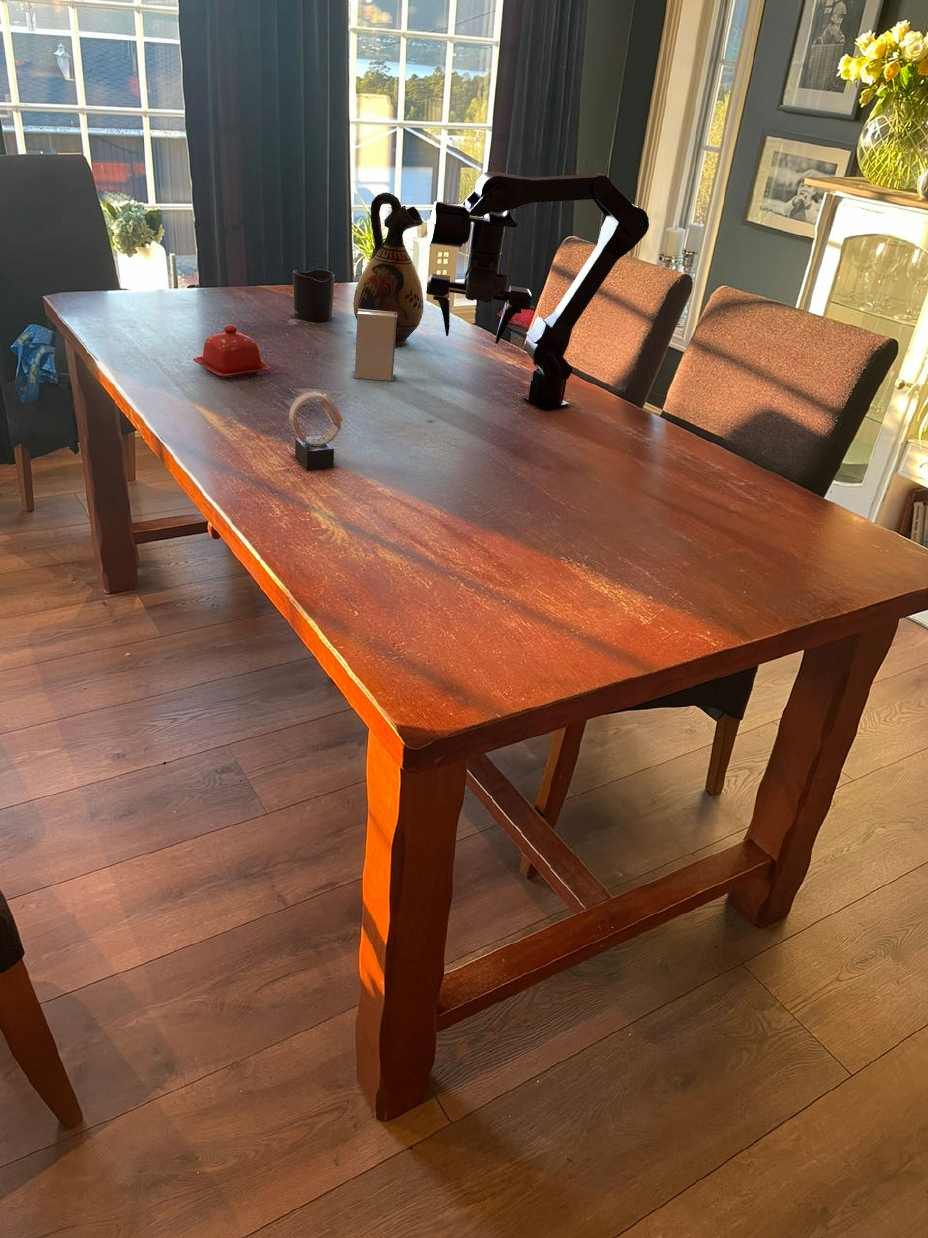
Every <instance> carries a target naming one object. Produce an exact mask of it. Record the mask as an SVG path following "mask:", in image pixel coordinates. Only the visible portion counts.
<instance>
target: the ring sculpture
mask: <svg viewBox="0 0 928 1238" xmlns="http://www.w3.org/2000/svg"><path fill="white" fill-rule="evenodd" d="M317 399H318V403H319V406H320V407H321V410H322V412H323V413H324V414H325V416H326V417H327V419H328V420H329V421H330V423H331V427H330V428H329V430H328V432H326V433H325V434H324V435H316V436H306V435H305V434H304V433H303V431H302V430H301V428H300V426H299V423H298V418H297V416H296V415H297V413H298V411H299V409H300V408H301V407H302V405H304V404H305V403H307V402H308V401H311V400H317ZM343 420H344V419H343V417H342V414H341V413H340V410H339V409H338V407H337V406H336V405H335V403H334V401H333V400H332V399H331V397H330V396H329V395H328V394H327V393H320V392H319V391H314V390H313V391H307V392H303V393H302V394H300V395H299V396H297V397H296V398H295V400H293V402H292V403H291V405H290V408H289V412H288V421H289V424H290V427H291V429H292V431H293V432H294V434H295V435H296V436H297V437H295V438H294V439H295V444H294V449H295V450H294V457H295V458H296V460H297V461H298V462H299V463H300V464H301V466H302V467H303V468H304V469H305V470H306V471H314V470H325V469H334V467H335V466H334V465H335V464H334V463H335V448H334V447H333V445H331V444H330V442H332V441H333V440H334V439H335V438H336V437H338V434H339V432H340V430H341V429H342V422H343Z"/></svg>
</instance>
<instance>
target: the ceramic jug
mask: <svg viewBox="0 0 928 1238" xmlns="http://www.w3.org/2000/svg"><path fill="white" fill-rule="evenodd" d="M383 205H389V206H390V209H391V212H390V213H389V214H388V215H387V216H386V217H385V219H384V221H383V226H384V227H386V228H387V234H386V236H385V239H384V236H383V235H384V234H383V231H382V222H381V221H382V220H381V214H380V212H381V208H382V206H383ZM369 217H370V224H371V231H372V232H371V233H372V238H373V242H374V243H373V244H374V245H373V246H374V248H373V249H372V253H371V256H370V259H369V262H368V264H367V265H366V266H365V268H364V269H363V272H362V273H361V275H360V277H359V279H358V282H357V284H356V287H355V291H354V296H353V303H352V304H353V314H354V317H355V319H356V320H357V313H358V309H365V310H377V311H388V312H397V322H396V338H395V348H397V347H404V345H406V344H407V340H408V338H409V337H410V336H411V335H412V334H413V333H414V332H415V330H416V329H417V328H418V327H419V325H420V323H421V321H422V318H423V314H424V309H425V308H424V293H423V287H422V282H421V279H420V276H419V274H418V271H417V270H416V266H415V264H414V263H413V260H412V258H411V256H410V255H409V252H408V250H407V248H406V245H405V243H404V236H403V235H404V233H405V231H406V230H408V229H412V228H415V227H420V226H421V225H423V224H424V223H423V219H422V216H421V214H420V212H419V210H418V209H417V208H416V207H415V206H410V207H407V208H406V205H403V206H402V203H401V201H400V199H399V198H398V197H397V196H396V195H394V194H392V193H390V192H387V191H386V192H381V193H379V194H377V195H376V196H375V197H374V198H373V200H372V201H371V204H370V216H369Z"/></svg>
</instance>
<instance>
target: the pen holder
mask: <svg viewBox="0 0 928 1238" xmlns="http://www.w3.org/2000/svg"><path fill="white" fill-rule="evenodd" d="M335 276H336V273H334V272H332V271H330V270H327V269H321V268H317V269H313V270H310V271H301V270H299V269H293V271H292V283H293V287H292V288H293V312H294V316H295V317H296V319H298V320H301V321H304V322H305V321H306V322H314V323H317V322H318V323H320V322H327V321H330V320H331V319H332V318H333V309H334V308H333V306H334V291H335Z"/></svg>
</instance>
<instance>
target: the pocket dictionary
mask: <svg viewBox="0 0 928 1238" xmlns="http://www.w3.org/2000/svg"><path fill="white" fill-rule="evenodd" d="M396 322H397V312H388V311H377V310H365V309H358V313H357V319H356V332H355V335H356V336H355V358H354V378H355V379H362V380H363V379H364V380H375V381H386V382H387V381H389V382H393V380H394V368H395V351H396V347H395V338H396Z"/></svg>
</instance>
